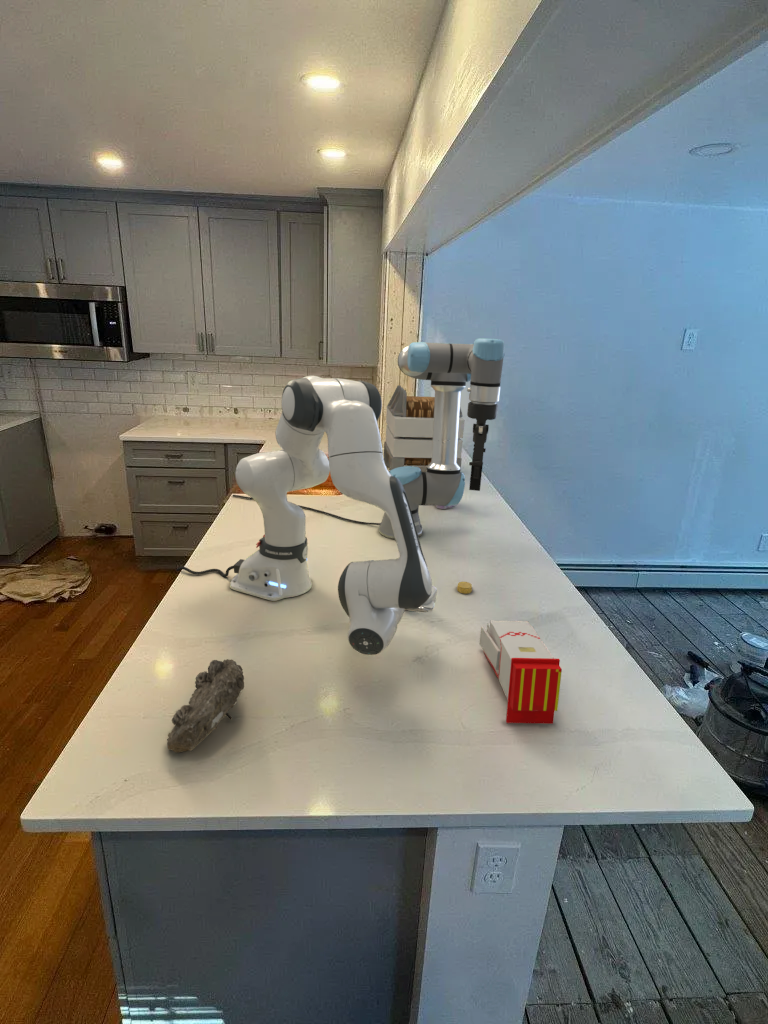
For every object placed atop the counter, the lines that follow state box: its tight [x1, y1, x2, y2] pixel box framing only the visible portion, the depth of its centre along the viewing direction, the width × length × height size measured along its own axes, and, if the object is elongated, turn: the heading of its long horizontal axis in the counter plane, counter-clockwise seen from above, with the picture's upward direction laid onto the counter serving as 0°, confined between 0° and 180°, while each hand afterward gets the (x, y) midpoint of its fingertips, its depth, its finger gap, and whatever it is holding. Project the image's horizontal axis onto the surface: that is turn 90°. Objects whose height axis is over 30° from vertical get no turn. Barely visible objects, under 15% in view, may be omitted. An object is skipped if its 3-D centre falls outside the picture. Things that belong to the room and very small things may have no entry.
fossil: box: [166, 658, 245, 754], centre depth 106 cm, size 22×10×15 cm
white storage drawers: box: [383, 384, 465, 472], centre depth 268 cm, size 34×33×41 cm
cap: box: [456, 581, 473, 595], centre depth 161 cm, size 4×4×2 cm
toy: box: [478, 620, 563, 725], centre depth 121 cm, size 12×13×30 cm
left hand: (399, 576), depth 137 cm, fingers open, 8 cm apart
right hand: (475, 482), depth 151 cm, fingers open, 13 cm apart
